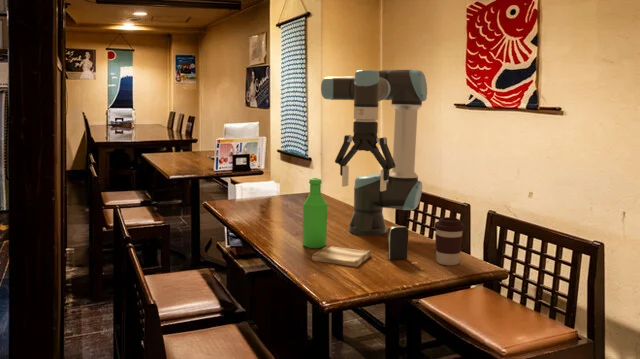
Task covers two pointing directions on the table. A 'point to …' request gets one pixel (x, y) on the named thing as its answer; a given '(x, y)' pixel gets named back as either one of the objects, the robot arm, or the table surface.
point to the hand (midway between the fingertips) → (363, 188)
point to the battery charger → (397, 242)
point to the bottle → (315, 217)
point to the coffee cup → (448, 240)
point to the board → (341, 256)
